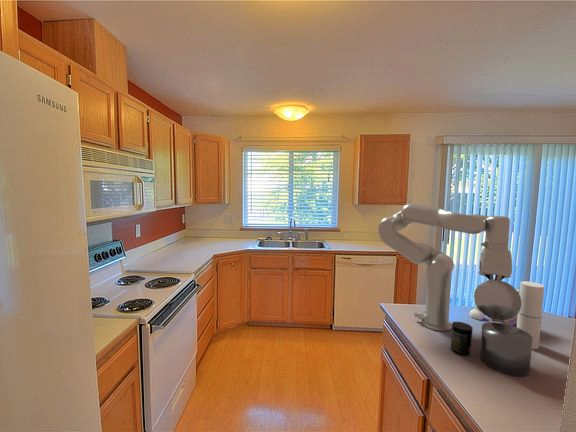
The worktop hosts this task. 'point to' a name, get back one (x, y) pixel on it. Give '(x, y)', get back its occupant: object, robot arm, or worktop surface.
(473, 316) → the garlic bulb
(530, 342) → the dark grey rounded block
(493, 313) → the round plate
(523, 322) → the cylindrical container
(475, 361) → the worktop surface
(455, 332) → the supplement container
